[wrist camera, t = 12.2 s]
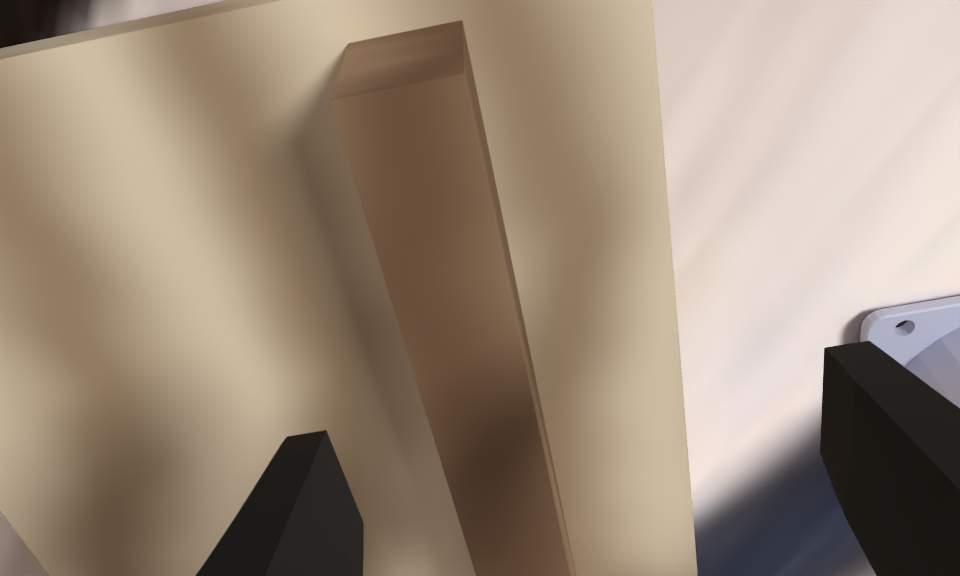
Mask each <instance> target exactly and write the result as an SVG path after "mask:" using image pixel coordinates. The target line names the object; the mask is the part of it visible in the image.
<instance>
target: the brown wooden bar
mask: <svg viewBox="0 0 960 576" xmlns="http://www.w3.org/2000/svg"><path fill="white" fill-rule="evenodd" d="M330 103H331V107H332V110H333V113H334V116H335V120H336V123H337V126H338V129H339V133H340V136H341V139H342V142H343V146H344V149H345V152H346V155H347V159H348V162H349V165H350V168H351V172H352V175H353V178H354V181H355V185H356V188H357V191H358V194H359V198H360V201H361V204H362V207H363V211H364V214H365V217H366V220H367V224H368V227H369V230H370V233H371V237H372V240H373V243H374V246H375V250H376V253H377V256H378V259H379V263H380V266H381V269H382V272H383V276H384V279H385V282H386V285H387V288H388V292H389V295H390V298H391V301H392V305H393V308H394V311H395V314H396V318H397V321H398V324H399V327H400V331H401V334H402V337H403V340H404V344H405V347H406V350H407V353H408V357H409V360H410V363H411V366H412V370H413V373H414V376H415V379H416V383H417V386H418V389H419V392H420V396H421V399H422V402H423V405H424V409H425V412H426V415H427V418H428V422H429V425H430V428H431V431H432V435H433V438H434V441H435V444H436V448H437V451H438V454H439V457H440V461H441V464H442V467H443V470H444V473H445V477H446V480H447V483H448V486H449V490H450V493H451V496H452V499H453V503H454V506H455V509H456V512H457V516H458V519H459V522H460V525H461V529H462V532H463V535H464V538H465V542H466V545H467V548H468V551H469V555H470V558H471V561H472V564H473V568H474V571H475V574H476V576H576V572H575V568H574V563H573V558H572V553H571V548H570V543H569V538H568V533H567V529H566V524H565V519H564V514H563V509H562V504H561V499H560V494H559V489H558V485H557V480H556V475H555V470H554V465H553V460H552V455H551V450H550V446H549V441H548V436H547V431H546V426H545V421H544V416H543V411H542V406H541V402H540V397H539V392H538V387H537V382H536V377H535V372H534V367H533V363H532V358H531V353H530V348H529V343H528V338H527V333H526V328H525V323H524V319H523V314H522V309H521V304H520V299H519V294H518V289H517V284H516V280H515V275H514V270H513V265H512V260H511V255H510V250H509V245H508V240H507V236H506V231H505V226H504V221H503V216H502V211H501V206H500V201H499V197H498V192H497V187H496V182H495V177H494V172H493V167H492V162H491V157H490V153H489V148H488V143H487V138H486V133H485V128H484V123H483V118H482V114H481V109H480V104H479V99H478V94H477V89H476V84H475V79H474V74H473V70H472V65H471V60H470V55H469V50H468V45H467V40H466V35H465V31H464V26H463V21H462V20H460V21H455V22H450V23H445V24H440V25H435V26H430V27H425V28H421V29H416V30H411V31H406V32H401V33H396V34H391V35H386V36H381V37H376V38H372V39H367V40H362V41H357V42H352V43H348V46H347V49H346V52H345V55H344V58H343V61H342V64H341V67H340V70H339V73H338V77H337V80H336V83H335V86H334V89H333V92H332V95H331V98H330Z"/></svg>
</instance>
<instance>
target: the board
mask: <svg viewBox="0 0 960 576" xmlns="http://www.w3.org/2000/svg"><path fill="white" fill-rule="evenodd" d="M460 20H462V21H463V26H464V31H465V35H466V40H467V45H468V50H469V55H470V60H471V65H472V70H473V74H474V79H475V84H476V89H477V94H478V99H479V104H480V109H481V114H482V118H483V123H484V128H485V133H486V138H487V143H488V148H489V153H490V157H491V162H492V167H493V172H494V177H495V182H496V187H497V192H498V197H499V201H500V206H501V211H502V216H503V221H504V226H505V231H506V236H507V240H508V245H509V250H510V255H511V260H512V265H513V270H514V275H515V280H516V284H517V289H518V294H519V299H520V304H521V309H522V314H523V319H524V323H525V328H526V333H527V338H528V343H529V348H530V353H531V358H532V363H533V367H534V372H535V377H536V382H537V387H538V392H539V397H540V402H541V406H542V411H543V416H544V421H545V426H546V431H547V436H548V441H549V446H550V450H551V455H552V460H553V465H554V470H555V475H556V480H557V485H558V489H559V494H560V499H561V504H562V509H563V514H564V519H565V524H566V529H567V533H568V538H569V543H570V548H571V553H572V558H573V563H574V568H575V572H576V576H698V573H697V560H696V548H695V535H694V523H693V510H692V497H691V485H690V472H689V460H688V447H687V435H686V422H685V409H684V397H683V384H682V372H681V359H680V347H679V334H678V322H677V309H676V296H675V284H674V271H673V259H672V246H671V234H670V221H669V209H668V196H667V183H666V171H665V158H664V146H663V133H662V121H661V108H660V96H659V83H658V70H657V58H656V45H655V33H654V20H653V8H652V0H228V1H223V2H218V3H214V4H209V5H204V6H199V7H195V8H190V9H185V10H180V11H176V12H171V13H166V14H161V15H157V16H152V17H147V18H143V19H138V20H133V21H128V22H124V23H119V24H114V25H109V26H105V27H100V28H95V29H90V30H86V31H81V32H76V33H72V34H67V35H62V36H57V37H53V38H48V39H43V40H38V41H34V42H29V43H24V44H19V45H15V46H10V47H5V48H1V49H0V511H1V512H2V514H3V515H4V516H5V518H6V519H7V520H8V522H9V523H10V524H11V526H12V527H13V528H14V530H15V531H16V532H17V534H18V535H19V536H20V538H21V539H22V540H23V542H24V543H25V544H26V546H27V547H28V548H29V550H30V551H31V552H32V554H33V555H34V556H35V558H36V559H37V560H38V562H39V563H40V564H41V566H42V567H43V568H44V570H45V571H46V572H47V574H48V575H49V576H195V575H196V574H197V573H198V571H199V570H200V568H201V567H202V566H203V564H204V563H205V561H206V560H207V558H208V557H209V556H210V554H211V553H212V551H213V550H214V548H215V547H216V545H217V544H218V542H219V541H220V539H221V538H222V536H223V535H224V533H225V532H226V530H227V529H228V527H229V526H230V524H231V522H232V521H233V519H234V518H235V516H236V515H237V513H238V512H239V510H240V509H241V507H242V506H243V504H244V502H245V501H246V499H247V498H248V496H249V495H250V493H251V491H252V490H253V488H254V487H255V485H256V483H257V482H258V480H259V479H260V477H261V475H262V474H263V472H264V471H265V469H266V467H267V466H268V464H269V463H270V461H271V459H272V458H273V456H274V455H275V453H276V452H277V450H278V448H279V447H280V445H281V444H282V442H283V441H284V440H285V438H286V437H287V436H293V435H299V434H305V433H311V432H318V431H324V430H327V433H328V435H329V438H330V440H331V443H332V445H333V448H334V450H335V453H336V455H337V458H338V460H339V463H340V465H341V468H342V470H343V473H344V475H345V478H346V480H347V483H348V485H349V488H350V490H351V493H352V495H353V497H354V500H355V502H356V505H357V507H358V510H359V512H360V515H361V517H362V520H363V522H364V554H363V576H476V574H475V571H474V568H473V564H472V561H471V558H470V555H469V551H468V548H467V545H466V542H465V538H464V535H463V532H462V529H461V525H460V522H459V519H458V516H457V512H456V509H455V506H454V503H453V499H452V496H451V493H450V490H449V486H448V483H447V480H446V477H445V473H444V470H443V467H442V464H441V461H440V457H439V454H438V451H437V448H436V444H435V441H434V438H433V435H432V431H431V428H430V425H429V422H428V418H427V415H426V412H425V409H424V405H423V402H422V399H421V396H420V392H419V389H418V386H417V383H416V379H415V376H414V373H413V370H412V366H411V363H410V360H409V357H408V353H407V350H406V347H405V344H404V340H403V337H402V334H401V331H400V327H399V324H398V321H397V318H396V314H395V311H394V308H393V305H392V301H391V298H390V295H389V292H388V288H387V285H386V282H385V279H384V276H383V272H382V269H381V266H380V263H379V259H378V256H377V253H376V250H375V246H374V243H373V240H372V237H371V233H370V230H369V227H368V224H367V220H366V217H365V214H364V211H363V207H362V204H361V201H360V198H359V194H358V191H357V188H356V185H355V181H354V178H353V175H352V172H351V168H350V165H349V162H348V159H347V155H346V152H345V149H344V146H343V142H342V139H341V136H340V133H339V129H338V126H337V123H336V120H335V116H334V113H333V110H332V107H331V103H330V98H331V95H332V92H333V89H334V86H335V83H336V80H337V77H338V73H339V70H340V67H341V64H342V61H343V58H344V55H345V52H346V49H347V46H348V43H352V42H357V41H362V40H367V39H372V38H376V37H381V36H386V35H391V34H396V33H401V32H406V31H411V30H416V29H421V28H425V27H430V26H435V25H440V24H445V23H450V22H455V21H460Z"/></svg>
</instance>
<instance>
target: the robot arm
mask: <svg viewBox="0 0 960 576" xmlns="http://www.w3.org/2000/svg"><path fill="white" fill-rule="evenodd" d="M905 320H907V322H906V323H905V324H904V325H903V326H900V327H896V326H897V325H898V324H899V323H900V322H902V321H905ZM820 453H821V456H822V458H823V461H824V464H825V466H826V469H827V471H828V474H829V477H830V479H831V482H832V485H833V487H834V490H835V492H836V495H837V497H838V500H839V502H840V505H841V507H842V510H843V512H844V515H845V517H846V519H847V521H848V523H849V525H850V527H851V529H852V530H853V532H854V534H855V536H856V538H857V540H858V542H859V544H860V545H861V547H862V549H863V551H864V553H865V555H866V557H867V558H868V560H869V562H870V564H871V566H872V568H873V570H874V571H875V573H876V575H877V576H960V296H955V297H949V298H943V299H937V300H931V301H925V302H919V303H914V304H908V305H902V306H896V307H890V308H884V309H879V310H876V311H874V312H872V313H870V314H869V315H867V317H866V318H865V319H864V320H863V322H862V325H861V335H860V342H857V343H851V344H845V345H839V346H833V347H827V348H825V349H824V373H823V397H822V421H821V445H820ZM363 554H364V522H363V520H362V517H361V515H360V512H359V510H358V507H357V505H356V502H355V500H354V497H353V495H352V493H351V490H350V488H349V485H348V483H347V480H346V478H345V475H344V473H343V470H342V468H341V465H340V463H339V460H338V458H337V455H336V453H335V450H334V448H333V445H332V443H331V440H330V438H329V435H328V433H327V430H324V431H318V432H311V433H305V434H299V435H293V436H287V437H286V438H285V440H284V441H283V442H282V444H281V445H280V447H279V448H278V450H277V452H276V453H275V455H274V456H273V458H272V459H271V461H270V463H269V464H268V466H267V467H266V469H265V471H264V472H263V474H262V475H261V477H260V479H259V480H258V482H257V483H256V485H255V487H254V488H253V490H252V491H251V493H250V495H249V496H248V498H247V499H246V501H245V502H244V504H243V506H242V507H241V509H240V510H239V512H238V513H237V515H236V516H235V518H234V519H233V521H232V522H231V524H230V526H229V527H228V529H227V530H226V532H225V533H224V535H223V536H222V538H221V539H220V541H219V542H218V544H217V545H216V547H215V548H214V550H213V551H212V553H211V554H210V556H209V557H208V558H207V560H206V561H205V563H204V564H203V566H202V567H201V568H200V570H199V571H198V573H197V574H196V575H195V576H363Z"/></svg>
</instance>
